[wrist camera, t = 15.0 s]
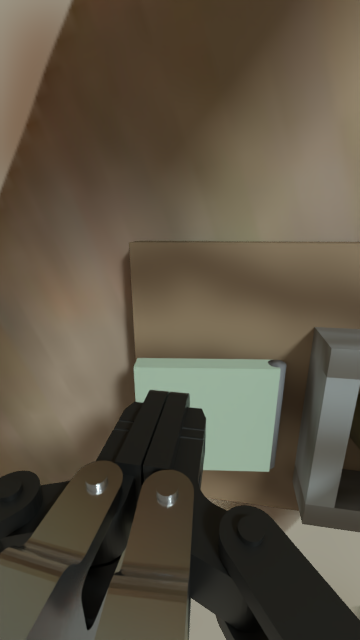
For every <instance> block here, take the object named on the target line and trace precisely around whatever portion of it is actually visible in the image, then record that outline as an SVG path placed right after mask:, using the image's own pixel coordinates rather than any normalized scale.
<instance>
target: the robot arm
mask: <svg viewBox="0 0 360 640" xmlns="http://www.w3.org/2000/svg"><path fill="white" fill-rule="evenodd" d="M205 440H206V417H205V415H204V412H203V410H202V409H201V408H191V407H190V394H189V393H180V392H169V391H158V390H149V392H148V394H147V396H146V398H145V400H144V402H143V403H142V402H134V403H132V404H131V405H130V406H129V407H127V408H126V409H125V410H124V412H123V413H122V415H121V417H120V419H119V422H117V424H116V426H115V428H114V430H113V431H112V433H111V435H110V437H109V438H108V440H107V442H106V444H105V446H104V447H103V449H102V451H101V453H100V454H99V456H98V458H97V460H96V461H95V462H92V463H89V464H87V465H85V466H84V467H82V468H81V469H80V470H78V471H77V472H76V474H75V475H74V476H73V478H72V479H71V480H70V481H66V482H61V483H54V484H47V485H40V481H39V478H38V476H37V475H36V474H34V473H32V472H30V471H17V472H13V473H10V474H7V475H5V476H3V477H1V478H0V640H189V628H190V607H191V598H192V599H193V600H195V601H196V602H198V603H199V604H201V605H202V606H204V607H205V608H207V609H208V610H210V611H211V612H213V613H214V614H215V615H216V618H217V621H218V624H219V626H220V628H221V630H222V632H223V634H224V636H225V638H226V640H360V620H359V619H358V618H357V617H356V616H355V614H354V613H353V612H352V611H351V610H350V609H349V608H348V606H347V605H346V604H345V603H344V602H343V601H342V599H340V597H339V596H338V595H337V594H336V592H335V591H334V590H333V589H332V588H331V587H330V585H329V584H328V583H327V582H326V581H325V580H324V579H323V577H322V576H321V575H320V574H319V573H318V571H317V570H316V569H315V568H314V567H313V566H312V564H311V563H310V562H309V561H308V560H307V559H306V557H305V556H304V555H303V554H302V553H301V552H300V551H299V549H298V548H297V547H296V546H295V545H294V543H293V542H292V541H291V540H290V539H289V538H288V536H287V535H286V534H285V533H284V532H283V531H282V529H281V528H280V527H279V526H278V525H277V524H276V522H275V521H274V520H273V519H272V518H271V517H270V516H269V515H268V514H266V513H265V512H264V511H262V510H260V509H258V508H255V507H252V506H246V505H243V506H237V507H234V508H231V509H230V510H228V511H226V510H224V509H222V508H220V507H218V506H216V505H215V504H213V503H212V502H210V501H209V500H208V499H207V498H206V497H205V496H204V494H203V493H202V491H201V482H202V473H203V464H204V457H205Z"/></svg>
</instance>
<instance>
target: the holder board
mask: <svg viewBox="0 0 360 640" xmlns="http://www.w3.org/2000/svg"><path fill="white" fill-rule="evenodd" d="M129 253H130V270H131V288H132V305H133V323H134V340H135V358H136V360H137V358H185V359H266V360H281V361H283V362H285V363H286V373H285V382H284V390H283V399H282V407H281V416H280V424H279V432H278V441H277V449H276V458H275V466H274V468H272V469H269V472H260V471H222V470H203V473H202V482H201V491H202V493H203V494H204V496H205V497H206V498H212V499H219V500H226V501H233V502H241V503H248V504H255V505H262V506H269V507H276V508H283V509H291V510H298V511H299V512H300V516H301V520H302V524H307V525H314V526H321V527H328V528H334V529H341V530H348V531H355V532H360V449H359V448H358V447H357V446H356V444H355V443H354V442H353V440H352V439H351V438H350V430H351V425H352V420H353V415H354V411H355V406H356V401H357V396H358V394H359V393H360V242H215V241H135V242H130V243H129Z"/></svg>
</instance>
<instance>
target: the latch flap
mask: <svg viewBox="0 0 360 640" xmlns="http://www.w3.org/2000/svg"><path fill="white" fill-rule="evenodd" d="M285 373H286V363H285V362H283V361H281V360H266V359H185V358H137V360H136V363H135V365H134V382H135V399H136V402H142V403H143V402H144V400H145V398H146V396H147V394H148V392H149V390H158V391H169V392H180V393H189V394H190V407H191V408H201V409H202V410H203V412H204V415H205V417H206V440H205V457H204V464H203V470H222V471H260V472H269V469H272V468H274V466H275V458H276V449H277V441H278V432H279V424H280V416H281V407H282V399H283V390H284V382H285Z"/></svg>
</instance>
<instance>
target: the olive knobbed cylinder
mask: <svg viewBox="0 0 360 640" xmlns="http://www.w3.org/2000/svg"><path fill="white" fill-rule="evenodd" d="M350 438H351V439H352V440H353V442H354V443H355V444H356V446H357V447H358V448H359V449H360V393H359V394H358V396H357V401H356V406H355V411H354V415H353V420H352V425H351V430H350Z"/></svg>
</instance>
